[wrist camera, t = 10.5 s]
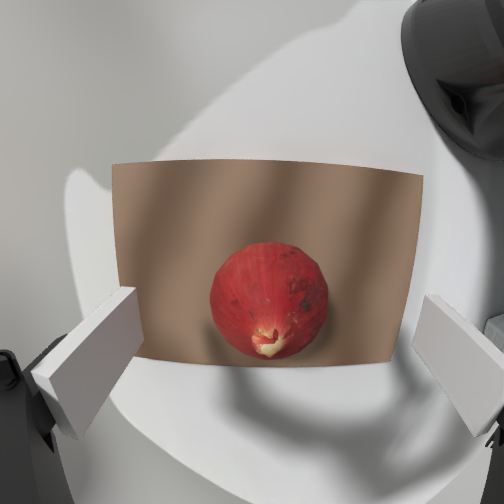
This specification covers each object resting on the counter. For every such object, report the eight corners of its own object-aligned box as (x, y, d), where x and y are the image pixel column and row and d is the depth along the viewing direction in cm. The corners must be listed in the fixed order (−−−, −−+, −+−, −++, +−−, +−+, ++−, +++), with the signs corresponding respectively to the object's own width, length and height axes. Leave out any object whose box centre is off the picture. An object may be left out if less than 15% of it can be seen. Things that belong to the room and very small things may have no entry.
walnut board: (412, 174, 17) (423, 175, 16) (383, 350, 21) (390, 361, 20) (122, 164, 18) (112, 164, 16) (138, 345, 21) (132, 356, 20)
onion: (289, 211, 17) (314, 244, 9) (328, 291, 18) (367, 367, 10) (203, 255, 18) (163, 317, 10) (248, 329, 19) (241, 417, 11)
